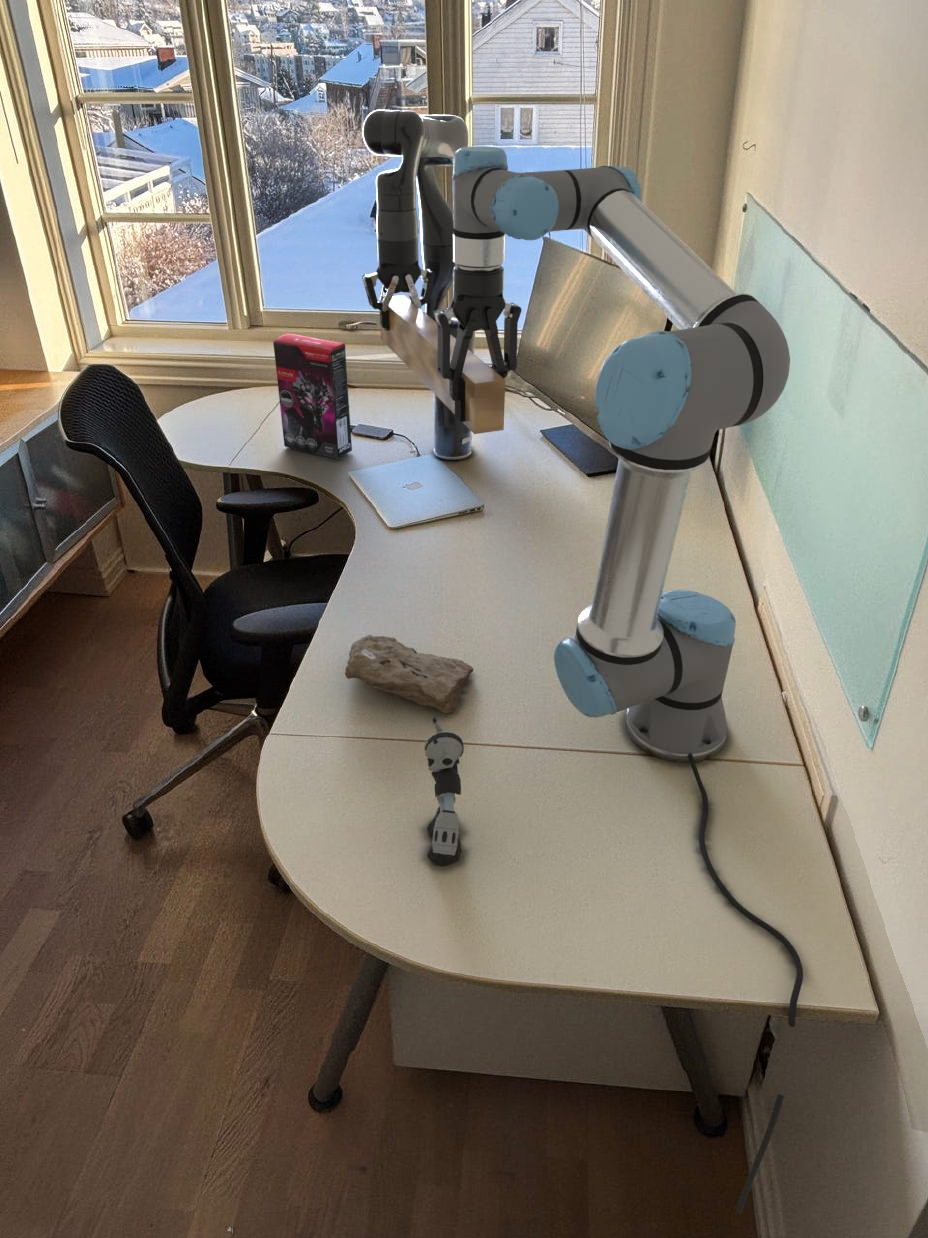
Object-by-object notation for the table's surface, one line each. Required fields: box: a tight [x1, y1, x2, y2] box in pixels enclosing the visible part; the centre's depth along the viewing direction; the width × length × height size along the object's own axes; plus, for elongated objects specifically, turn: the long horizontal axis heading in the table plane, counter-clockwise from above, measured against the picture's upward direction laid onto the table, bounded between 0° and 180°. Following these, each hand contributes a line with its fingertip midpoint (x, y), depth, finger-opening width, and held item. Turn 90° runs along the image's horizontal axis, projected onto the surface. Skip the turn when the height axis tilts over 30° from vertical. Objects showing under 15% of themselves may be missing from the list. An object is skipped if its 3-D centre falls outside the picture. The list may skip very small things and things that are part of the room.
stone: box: [344, 634, 474, 714], centre depth 150 cm, size 21×15×6 cm
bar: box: [378, 294, 506, 435], centre depth 162 cm, size 51×5×8 cm, turn 21°
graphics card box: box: [272, 332, 353, 460], centre depth 223 cm, size 17×7×27 cm, turn 62°
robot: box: [423, 717, 465, 867], centre depth 118 cm, size 20×5×20 cm, turn 3°
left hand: (400, 327), depth 178 cm, fingers closed on bar, 5 cm apart
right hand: (476, 416), depth 148 cm, fingers closed on bar, 5 cm apart
